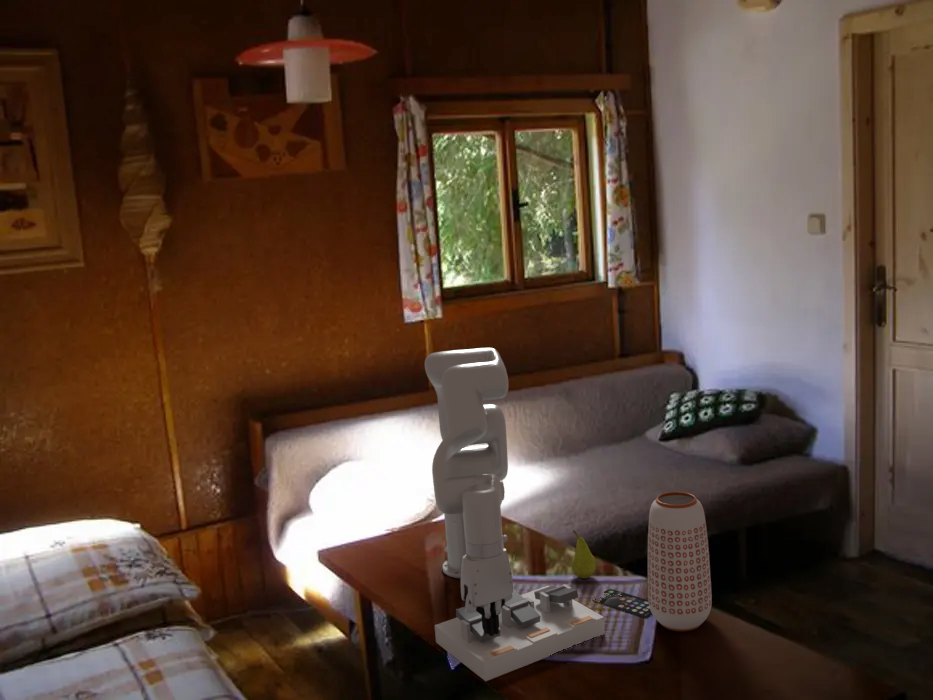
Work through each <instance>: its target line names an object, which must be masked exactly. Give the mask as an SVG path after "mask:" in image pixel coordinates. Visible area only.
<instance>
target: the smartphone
mask: <svg viewBox="0 0 933 700" xmlns="http://www.w3.org/2000/svg"><path fill="white" fill-rule="evenodd" d="M603 592H604V593H606V594H608V595H606V594H604V595H606V596H604V597H600V598H599V599H600V600H599V601H600V602H599V603H601V604H600V605H602V604H604V605H603V606H605V605H606V607H608V606H609V607H608V608H611V607H612V608H611V609H614V608H616V609H615V610H617V609H619V611H621V610H622V611H621V612H624V611H625V612H624V613H627V612H628V613H627V614H629V613H630V615H633V616H637V617H639V616H640V617H639V618H643V619H648V618H649V617H651V616H653V614H652V612H651V610H650V607H649V602H648V599H646V598H643V597H639V596H636V595H633V594H629V593H626V592H622V591H619V590H616V589H614V588H609V589H607V590H605V591H603ZM613 594H614V595H613ZM618 594H620V595H622V596H620V595H618ZM610 595H611V596H610ZM615 595H616V596H615ZM595 600H596V599H595ZM593 601H594V600H593V599H592V602H593ZM599 603H598V604H599Z"/></svg>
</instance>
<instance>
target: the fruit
mask: <svg viewBox="0 0 933 700" xmlns="http://www.w3.org/2000/svg"><path fill="white" fill-rule="evenodd" d="M572 533H574V534H575V535H576V545H575V553H574V555H573V558H572V561H571V569H572V572H573V573H574V574H575V575H576V577H578V578H581V579H588V578H590V577H591V576H592V575H593V574H594V572H595V570H596V566H597V563H596V559H595V557H594V556H593V554H592V552H591V550H590V548H589V546H588V544H587V542H586V540H585V539H584V538H583V537H581V536H579V535H578V534H577V532H576V531H575V530H573V532H572Z"/></svg>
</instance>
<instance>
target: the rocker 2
mask: <svg viewBox="0 0 933 700" xmlns="http://www.w3.org/2000/svg"><path fill="white" fill-rule="evenodd" d="M512 595H513V597H512V599H510V600H509V601H507V602H505V604H504V605H503V606H506V607H507V608H509V609H511V618H512V619H513V620H514V621H515V622H516V623H517V624H518V625H519V626H520V627H521V628H525V627H527V626H530V625H533V624H535V623H538V622H540V617H541V616H540V615H539V614H538V613H537V612H536V611H535V609H534V608H533V607H532V606H531V605H530V604H529V603H528V600H527V599H524V598H523V597H522V596H521V595H522V594H520V593H519V592H518V591H517V590H516V589H515V588H513V592H512Z"/></svg>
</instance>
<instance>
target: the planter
mask: <svg viewBox="0 0 933 700" xmlns="http://www.w3.org/2000/svg"><path fill="white" fill-rule="evenodd" d="M648 516H649V517H648V531H647V532H648V533H647V598H648V599H647V600H648V602H649V607H650V610H651V612H652V616H653V617H654V618H655V620H656V621H657V622H658V623H659V624H660V626H662V627H663V628H665V629H667V630H669V631H673V632H690V631H694V630H696V629H698V628H699V627H701V625H702V624H703V623H704V622H705V621H706V620H707V618H708V617H709V615H710V613H711V609H712V603H713V601H712V598H713V596H712V595H713V594H712V581H711V580H712V579H711V578H712V577H711V565H710V564H711V563H710V551H709V550H710V549H709V538H708V531H707V530H708V529H707V523H706V515H705V511H704V507H703V505H702V503H701V502H700V500H698V499H697V497H696V496H695V495H694V494H692V493H689V492H684V491H669V492H668V491H667V492H664V493H660V494H659V495H657V496H656V499H655V500H653V502H652V503H651V505H650V508H649V515H648Z"/></svg>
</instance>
